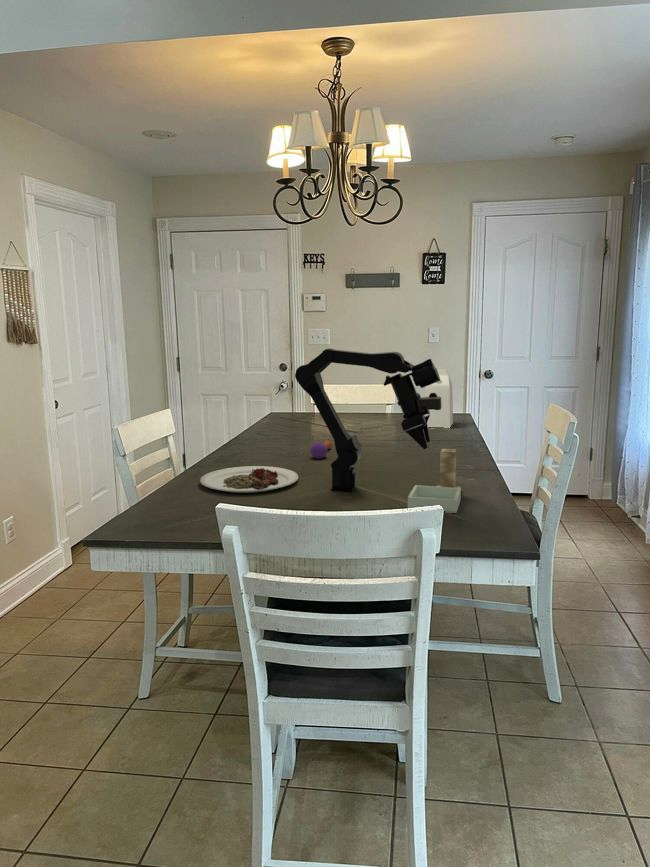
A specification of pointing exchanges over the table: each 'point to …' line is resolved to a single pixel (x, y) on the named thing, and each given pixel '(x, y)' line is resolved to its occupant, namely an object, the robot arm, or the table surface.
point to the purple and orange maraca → (320, 449)
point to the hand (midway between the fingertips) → (427, 445)
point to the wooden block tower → (447, 468)
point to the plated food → (249, 479)
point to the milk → (445, 392)
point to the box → (435, 497)
